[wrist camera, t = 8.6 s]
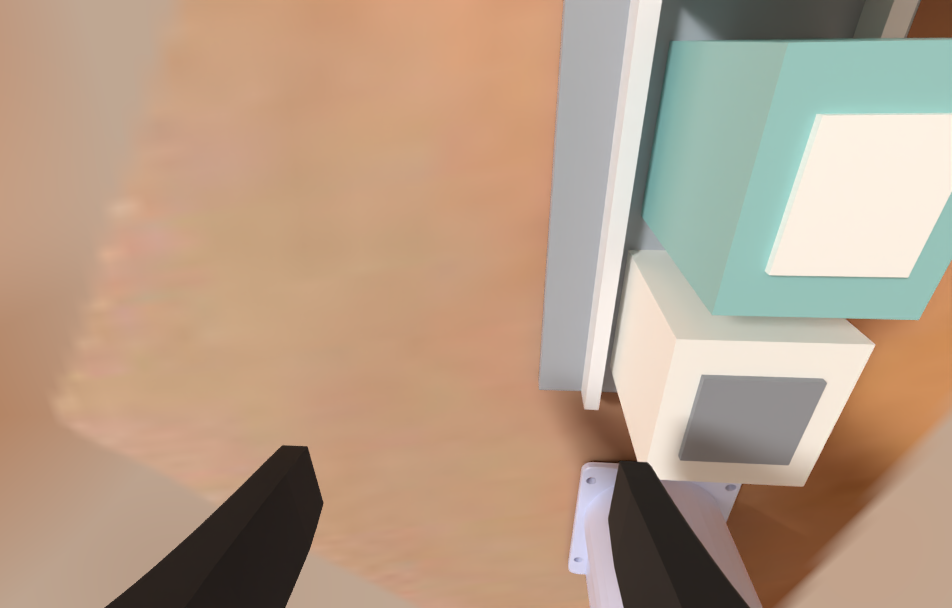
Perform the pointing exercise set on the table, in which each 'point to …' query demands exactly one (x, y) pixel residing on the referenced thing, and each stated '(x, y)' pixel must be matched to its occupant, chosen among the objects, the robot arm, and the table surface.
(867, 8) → the board
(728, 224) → the block
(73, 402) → the table surface
